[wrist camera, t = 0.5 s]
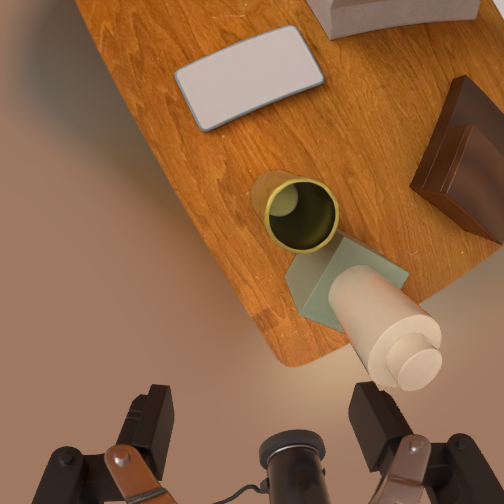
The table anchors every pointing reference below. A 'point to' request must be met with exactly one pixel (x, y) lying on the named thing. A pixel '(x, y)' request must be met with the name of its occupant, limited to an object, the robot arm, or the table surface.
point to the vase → (295, 210)
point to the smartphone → (248, 76)
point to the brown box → (466, 162)
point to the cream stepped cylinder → (386, 329)
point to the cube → (333, 274)
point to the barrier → (386, 14)
